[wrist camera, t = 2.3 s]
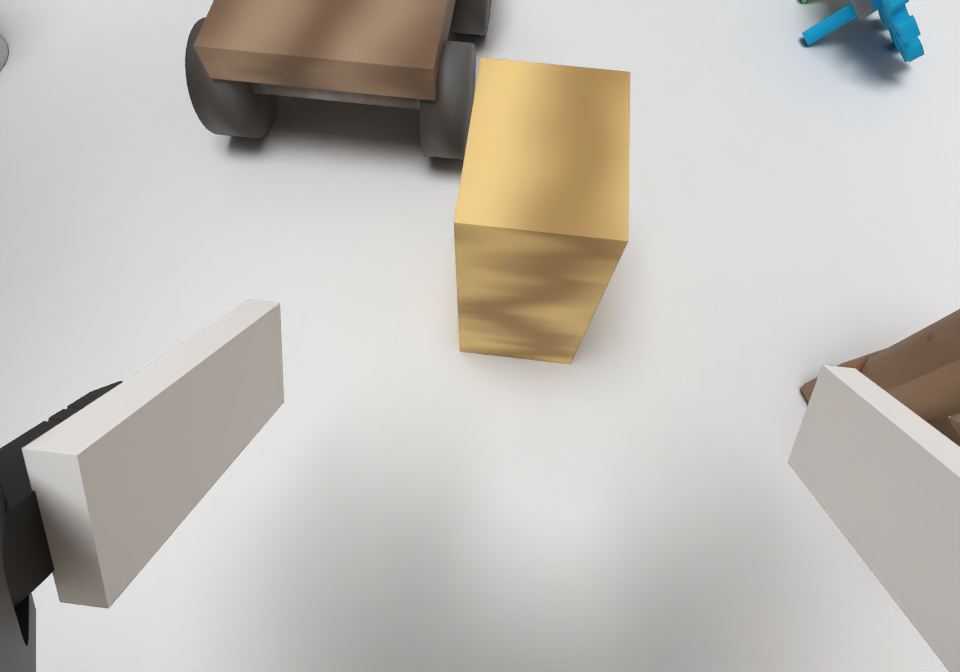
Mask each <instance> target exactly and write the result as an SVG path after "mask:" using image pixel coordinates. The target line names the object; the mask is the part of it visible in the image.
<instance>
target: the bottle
mask: <svg viewBox="0 0 960 672" xmlns="http://www.w3.org/2000/svg"><path fill="white" fill-rule="evenodd" d="M7 57H8V46H7V43H6V41H5V40H4V39H3V38H2V36H1V35H0V70H1V69H2V67H3V66H4V63H5V62H6V60H7Z"/></svg>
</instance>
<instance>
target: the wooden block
mask: <svg viewBox="0 0 960 672" xmlns="http://www.w3.org/2000/svg"><path fill="white" fill-rule="evenodd" d="M838 367H847V368H855V369H856V370H858V371H859V372H860V373H862V374H863V375H864V376H866V377H867V378H868V379H870V380H871V381H873V382H874V383H875V384H877V385H878V386H879V387H881V388H882V389H883V390H885V391H886V392H887V393H889V394H890V395H891V396H893V397H894V398H895V399H897V400H898V401H899V402H901V403H902V404H903V405H905V406H906V407H907V408H909V409H910V410H911V411H913V412H914V413H915V414H917V415H918V416H919V417H921V418H922V419H923V420H925V421H926V422H927V423H929V424H930V425H931V426H933V427H934V428H935V429H937V430H938V431H939V432H941V433H942V434H943V435H945V436H946V437H947V438H949V439H950V440H951V441H953V442H954V443H955V444H957V445H958V446H959V447H960V309H959V310H957V311H955V312H954V313H952V314H950V315H948V316H946V317H944V318H943V319H941V320H939V321H937V322H935V323H933V324H932V325H930V326H928V327H926V328H924V329H922V330H920V331H919V332H917V333H915V334H913V335H911V336H909V337H908V338H906V339H904V340H902V341H900V342H898V343H897V344H895V345H893V346H891V347H889V348H887V349H884V350H881V351H878V352H875V353H872V354H869V355H866V356H863V357H860V358H857V359H854V360H851V361H848V362H846V363H843V364H840V365H838ZM817 378H818V377H817ZM817 378H815V379H813V380H811V381H810V382H808V383H806V384H805V385H804V386H803V387H802V388H801V390H802V393H803V395H804V396H805V398H806V400H807V401H808V403H809V401H810V398H811V395H812V392H813V390H814V387H815V384H816V381H817ZM958 413H959V414H958ZM955 414H956V415H955ZM952 415H953V416H952ZM949 416H951V417H950V419H949Z"/></svg>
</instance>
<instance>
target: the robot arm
mask: <svg viewBox="0 0 960 672" xmlns="http://www.w3.org/2000/svg"><path fill="white" fill-rule="evenodd" d="M283 403H284V389H283V365H282V342H281V318H280V303H277V302H268V301H259V300H250V299H249V300H248V301H246V302H245V303H243V304H242V305H240V306H238V307H237V308H235V309H234V310H232V311H231V312H229V313H228V314H226V315H225V316H223V317H222V318H220V319H219V320H217V321H216V322H214V323H212V324H211V325H209V326H208V327H206V328H205V329H203V330H202V331H200V332H199V333H197V334H196V335H194V336H193V337H191V338H190V339H188V340H187V341H185V342H183V343H182V344H180V345H179V346H177V347H176V348H174V349H173V350H171V351H170V352H168V353H167V354H165V355H164V356H162V357H161V358H159V359H157V360H156V361H154V362H153V363H151V364H150V365H148V366H147V367H145V368H144V369H142V370H141V371H139V372H138V373H136V374H135V375H133V376H132V377H130V378H128V379H127V380H125V381H124V382H122V381H119V382H116V383H113V384H111V385H108V386H105V387H103V388H100V389H97V390H94V391H92V392H89V393H88V394H86V395H85V396H83V397H81V398H80V399H78V400H77V401H75V402H74V403H72V404H70V405H69V406H68V408H67V409H62V410H61V411H59V412H58V413H56V414H54V415H53V416H51V417H50V418H49V420H48V422H47V421H43V422H42V423H40V424H39V425H37V426H35V427H34V428H32V429H31V430H29V431H27V432H26V433H24V434H23V435H21V436H19V437H18V438H16V439H15V440H13V441H11V442H10V443H8V444H7V445H5V446H3V447H2V448H0V672H36V608H35V605H34V601H33V597H32V594H31V592H32V591H33V590H34V589H35V588H36V587H37V586H39V585H40V584H41V583H42V582H43V581H44V580H45V579H46V578H47V577H48V576H49V575H50V574H51V573H52V572H53V576H54V580H55V584H56V588H57V592H58V596H59V600H60V602H64V603H71V604H78V605H86V606H93V607H101V608H108V609H109V608H110V606H111V605H112V604H113V603H114V602H115V600H116V599H117V598H118V597H119V596H120V595H121V593H122V592H123V591H124V590H125V589H126V587H127V586H128V585H129V584H130V583H131V582H132V580H133V579H134V578H135V577H136V576H137V575H138V573H139V572H140V571H141V570H142V569H143V567H144V566H145V565H146V564H147V563H148V562H149V560H150V559H151V558H152V557H153V556H154V555H155V553H156V552H157V551H158V550H159V549H160V547H161V546H162V545H163V544H164V543H165V542H166V540H167V539H168V538H169V537H170V536H171V534H172V533H173V532H174V531H175V530H176V529H177V527H178V526H179V525H180V524H181V523H182V522H183V520H184V519H185V518H186V517H187V516H188V514H189V513H190V512H191V511H192V510H193V509H194V507H195V506H196V505H197V504H198V503H199V501H200V500H201V499H202V498H203V497H204V496H205V494H206V493H207V492H208V491H209V490H210V489H211V487H212V486H213V485H214V484H215V483H216V481H217V480H218V479H219V478H220V477H221V476H222V474H223V473H224V472H225V471H226V470H227V469H228V467H229V466H230V465H231V464H232V463H233V461H234V460H235V459H236V458H237V457H238V456H239V454H240V453H241V452H242V451H243V450H244V448H245V447H246V446H247V445H248V444H249V443H250V441H251V440H252V439H253V438H254V437H255V436H256V434H257V433H258V432H259V431H260V430H261V428H262V427H263V426H264V425H265V424H266V423H267V421H268V420H269V419H270V418H271V417H272V416H273V414H274V413H275V412H276V411H277V410H278V408H279V407H280V406H281V405H282V404H283ZM788 464H789V465H790V466H791V467H792V469H793V470H794V471H795V473H796V474H797V475H798V476H799V478H800V479H801V480H802V482H803V483H804V484H805V486H806V487H807V488H808V489H809V491H810V492H811V493H812V495H813V496H814V497H815V498H816V500H817V501H818V502H819V504H820V505H821V506H822V508H823V509H824V510H825V511H826V513H827V514H828V515H829V517H830V518H831V519H832V521H833V522H834V523H835V524H836V526H837V527H838V528H839V530H840V531H841V532H842V533H843V535H844V536H845V537H846V539H847V540H848V541H849V543H850V544H851V545H852V546H853V548H854V549H855V550H856V552H857V553H858V554H859V556H860V557H861V558H862V559H863V561H864V562H865V563H866V565H867V566H868V567H869V568H870V570H871V571H872V572H873V574H874V575H875V576H876V578H877V579H878V580H879V581H880V583H881V584H882V585H883V587H884V588H885V589H886V590H887V592H888V593H889V594H890V596H891V597H892V598H893V600H894V601H895V602H896V603H897V605H898V606H899V607H900V609H901V610H902V611H903V613H904V614H905V615H906V616H907V618H908V619H909V620H910V622H911V623H912V624H913V625H914V627H915V628H916V629H917V631H918V632H919V633H920V635H921V636H922V637H923V638H924V640H925V641H926V642H927V644H928V645H929V646H930V647H931V649H932V650H933V651H934V653H935V654H936V655H937V657H938V658H939V659H940V660H941V662H942V663H943V664H944V666H945V667H946V668H947V670H948V671H949V672H960V447H959V446H958V445H957V444H955V443H954V442H953V441H951V440H950V439H949V438H947V437H946V436H945V435H943V434H942V433H941V432H939V431H938V430H937V429H935V428H934V427H933V426H931V425H930V424H929V423H927V422H926V421H925V420H923V419H922V418H921V417H919V416H918V415H917V414H915V413H914V412H913V411H911V410H910V409H909V408H907V407H906V406H905V405H903V404H902V403H901V402H899V401H898V400H897V399H895V398H894V397H893V396H891V395H890V394H889V393H887V392H886V391H885V390H883V389H882V388H881V387H879V386H878V385H877V384H875V383H874V382H873V381H871V380H870V379H868V378H867V377H866V376H864V375H863V374H862V373H860V372H859V371H858V370H856V369H855V368H847V367H838V366H829V365H822V367H821V370H820V373H819V375H818V378H817V381H816V384H815V387H814V390H813V392H812V395H811V398H810V401H809V404H808V406H807V409H806V412H805V415H804V418H803V421H802V423H801V426H800V429H799V432H798V435H797V437H796V440H795V443H794V446H793V449H792V451H791V454H790V457H789V460H788Z"/></svg>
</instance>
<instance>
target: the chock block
mask: <svg viewBox="0 0 960 672" xmlns="http://www.w3.org/2000/svg"><path fill="white" fill-rule="evenodd" d="M629 128H630V72H626V71H615V70H605V69H595V68H585V67H574V66H564V65H554V64H544V63H533V62H523V61H513V60H503V59H492V58H482V57H481V59H480V65H479V71H478V77H477V83H476V89H475V96H474V102H473V108H472V114H471V120H470V126H469V132H468V139H467V145H466V151H465V157H464V163H463V169H462V175H461V182H460V188H459V194H458V200H457V206H456V212H455V218H454V236H455V257H456V279H457V300H458V321H459V342H460V352H469V353H478V354H486V355H495V356H504V357H513V358H521V359H530V360H539V361H547V362H556V363H565V364H570V363H571V361H572V359H573V357H574V355H575V353H576V350H577V348H578V346H579V344H580V342H581V340H582V338H583V336H584V334H585V331H586V329H587V327H588V325H589V323H590V321H591V319H592V317H593V314H594V312H595V310H596V308H597V306H598V304H599V302H600V300H601V298H602V295H603V293H604V291H605V289H606V287H607V285H608V283H609V281H610V278H611V276H612V274H613V272H614V270H615V268H616V266H617V264H618V262H619V259H620V257H621V255H622V253H623V251H624V249H625V247H626V245H627V242H628V210H629Z"/></svg>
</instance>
